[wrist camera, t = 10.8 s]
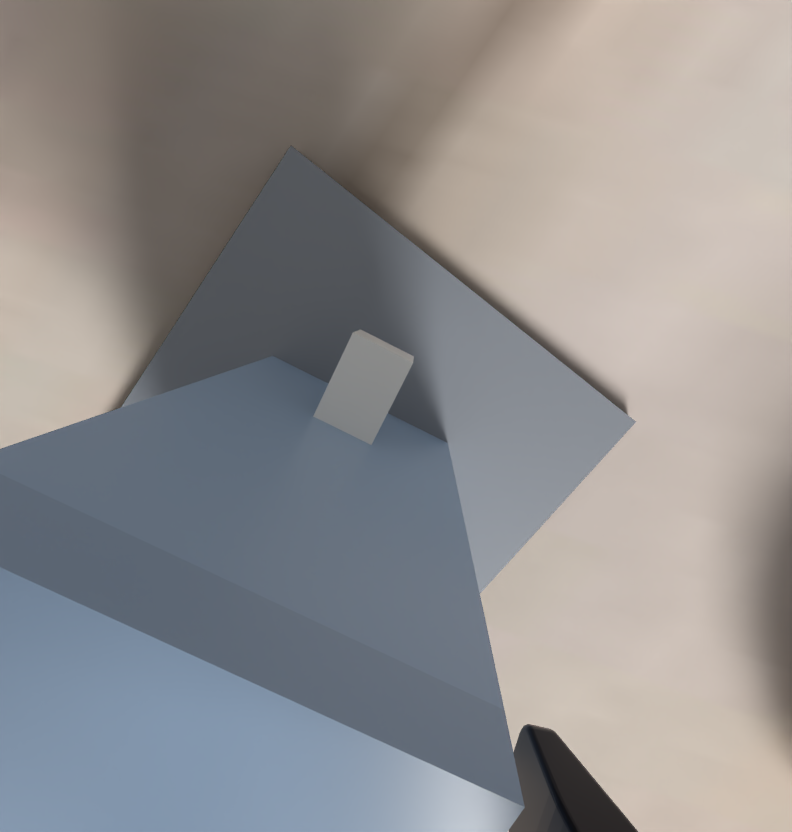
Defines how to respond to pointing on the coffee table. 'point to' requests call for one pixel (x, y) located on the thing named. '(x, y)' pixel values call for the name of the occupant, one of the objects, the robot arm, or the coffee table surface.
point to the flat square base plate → (406, 330)
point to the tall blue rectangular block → (247, 617)
